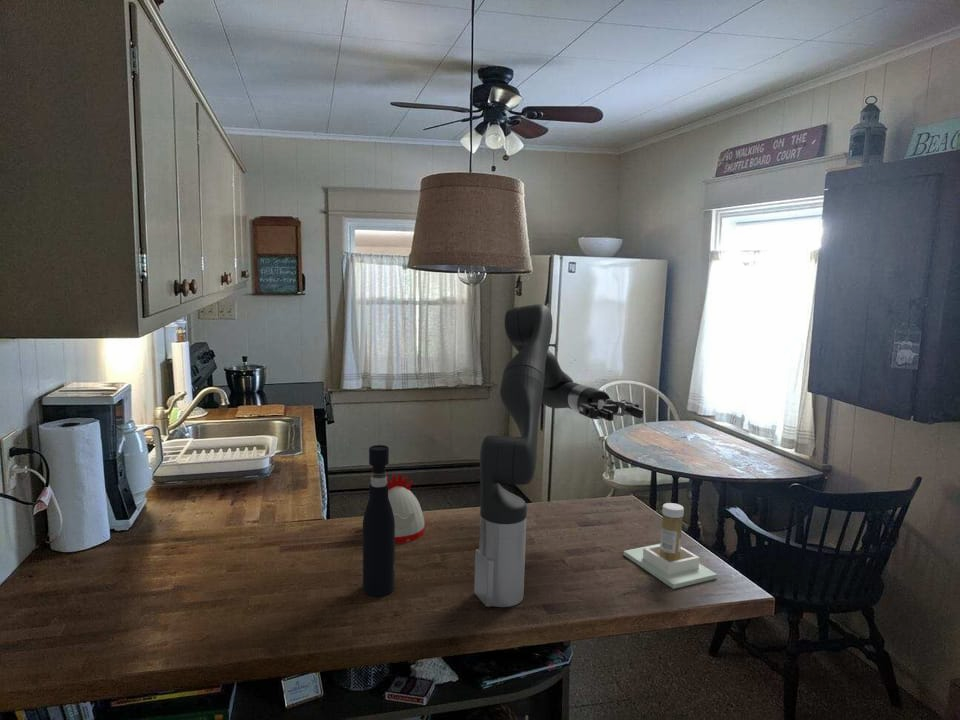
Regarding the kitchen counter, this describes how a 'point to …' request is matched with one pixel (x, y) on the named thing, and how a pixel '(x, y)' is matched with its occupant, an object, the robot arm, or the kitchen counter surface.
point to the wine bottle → (378, 530)
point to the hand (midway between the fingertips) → (627, 415)
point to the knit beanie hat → (405, 510)
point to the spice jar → (671, 531)
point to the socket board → (671, 566)
